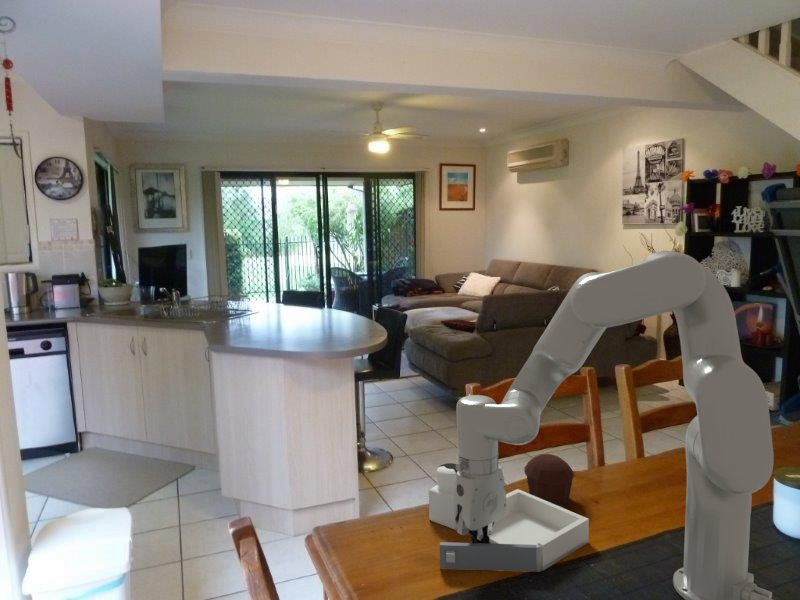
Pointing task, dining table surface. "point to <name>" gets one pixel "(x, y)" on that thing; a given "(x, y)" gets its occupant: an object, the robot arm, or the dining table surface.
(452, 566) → the side door
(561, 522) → the case
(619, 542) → the dining table surface
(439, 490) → the medicine bottle
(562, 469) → the muffin
